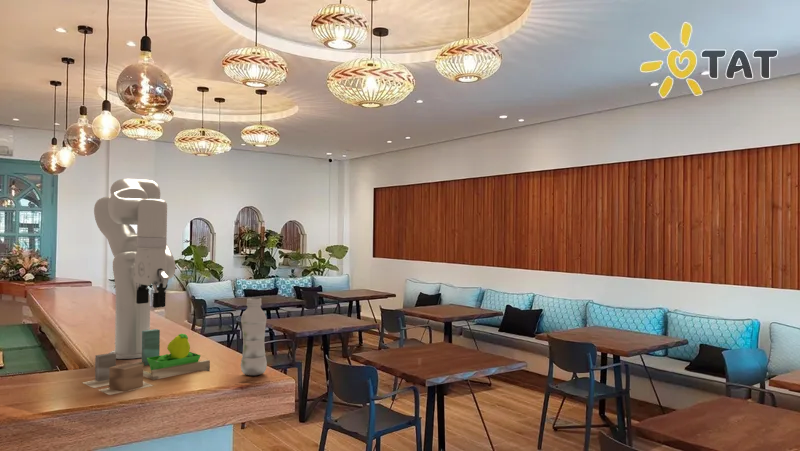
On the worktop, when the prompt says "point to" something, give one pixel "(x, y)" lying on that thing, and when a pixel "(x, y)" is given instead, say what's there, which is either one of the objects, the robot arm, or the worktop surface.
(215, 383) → the worktop surface
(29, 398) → the worktop surface
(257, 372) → the plastic bottle
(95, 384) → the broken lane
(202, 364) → the wooden serving tray
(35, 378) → the worktop surface
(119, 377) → the walnut cube
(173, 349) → the fruit basket
